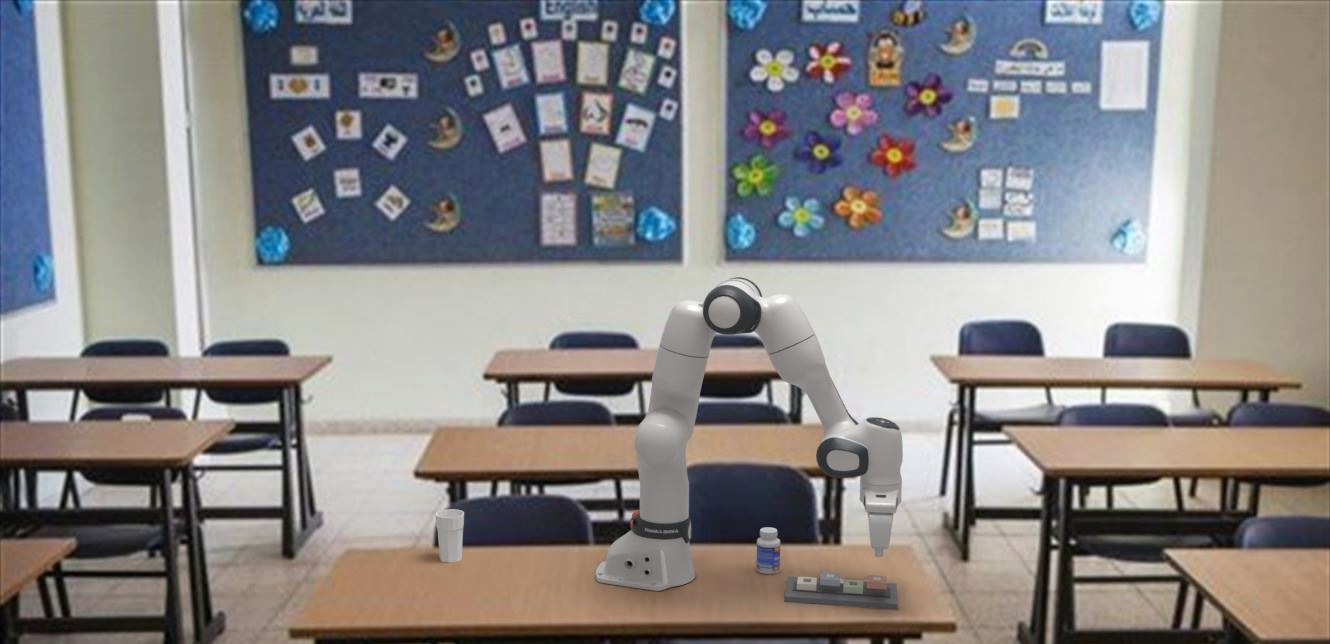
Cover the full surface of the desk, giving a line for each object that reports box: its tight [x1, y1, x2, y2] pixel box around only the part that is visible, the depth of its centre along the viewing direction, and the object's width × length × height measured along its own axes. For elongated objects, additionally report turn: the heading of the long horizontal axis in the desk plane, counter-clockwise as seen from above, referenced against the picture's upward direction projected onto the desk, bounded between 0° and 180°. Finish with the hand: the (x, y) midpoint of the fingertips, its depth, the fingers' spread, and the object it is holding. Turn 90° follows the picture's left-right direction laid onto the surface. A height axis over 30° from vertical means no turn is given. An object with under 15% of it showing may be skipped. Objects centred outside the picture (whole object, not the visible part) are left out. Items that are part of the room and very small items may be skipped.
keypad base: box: [784, 575, 899, 610], centre depth 272 cm, size 24×12×2 cm, turn 81°
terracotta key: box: [866, 574, 888, 589], centre depth 270 cm, size 4×4×2 cm
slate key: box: [819, 571, 841, 586], centre depth 272 cm, size 4×4×2 cm
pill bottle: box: [756, 526, 781, 575], centre depth 286 cm, size 5×5×10 cm
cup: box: [435, 508, 465, 564], centre depth 292 cm, size 7×7×11 cm
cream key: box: [797, 576, 818, 591], centre depth 273 cm, size 4×4×2 cm
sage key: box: [843, 579, 864, 594], centre depth 272 cm, size 4×4×2 cm
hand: (878, 554), depth 269 cm, fingers closed
